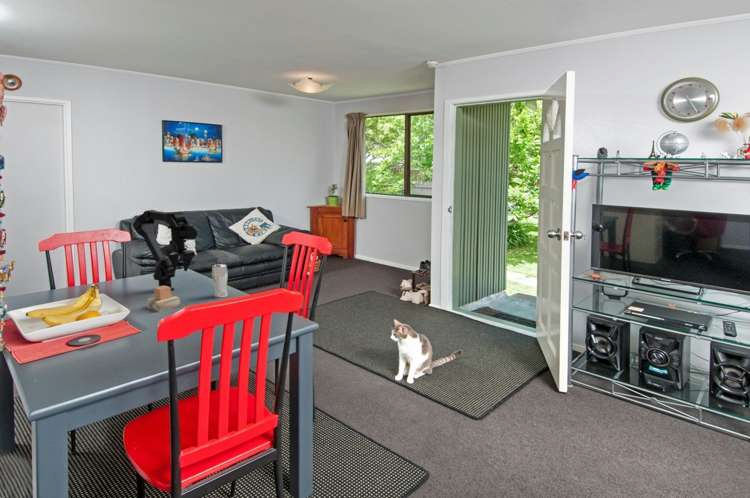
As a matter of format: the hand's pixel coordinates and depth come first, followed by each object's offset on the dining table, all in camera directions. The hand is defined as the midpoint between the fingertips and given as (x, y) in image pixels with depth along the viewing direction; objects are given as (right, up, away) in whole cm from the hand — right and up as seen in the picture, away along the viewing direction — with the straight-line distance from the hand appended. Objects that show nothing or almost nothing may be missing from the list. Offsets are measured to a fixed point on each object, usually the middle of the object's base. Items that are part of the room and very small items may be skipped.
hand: (180, 269), depth 233 cm
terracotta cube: (0, -12, -19) cm, 23 cm away
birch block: (0, -16, -19) cm, 24 cm away
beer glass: (+21, -13, -2) cm, 24 cm away
